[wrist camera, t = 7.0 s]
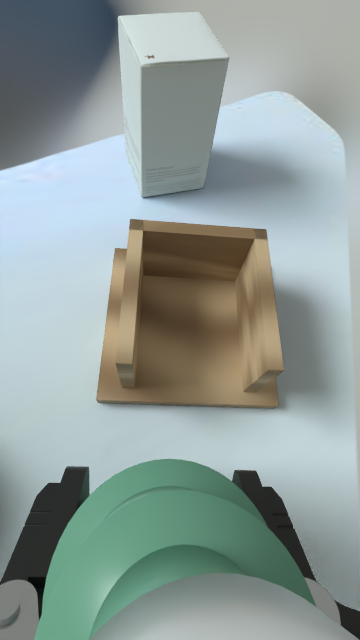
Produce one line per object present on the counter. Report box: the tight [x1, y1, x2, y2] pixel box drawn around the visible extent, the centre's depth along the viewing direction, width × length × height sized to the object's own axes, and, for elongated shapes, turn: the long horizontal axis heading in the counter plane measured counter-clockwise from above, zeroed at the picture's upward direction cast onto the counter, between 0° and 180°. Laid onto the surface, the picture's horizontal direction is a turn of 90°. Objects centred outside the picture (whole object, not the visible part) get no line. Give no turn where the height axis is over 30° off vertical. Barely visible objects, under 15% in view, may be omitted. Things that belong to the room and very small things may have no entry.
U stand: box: [96, 219, 284, 408], centre depth 26 cm, size 14×14×7 cm
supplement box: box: [118, 12, 229, 197], centre depth 31 cm, size 7×7×13 cm
